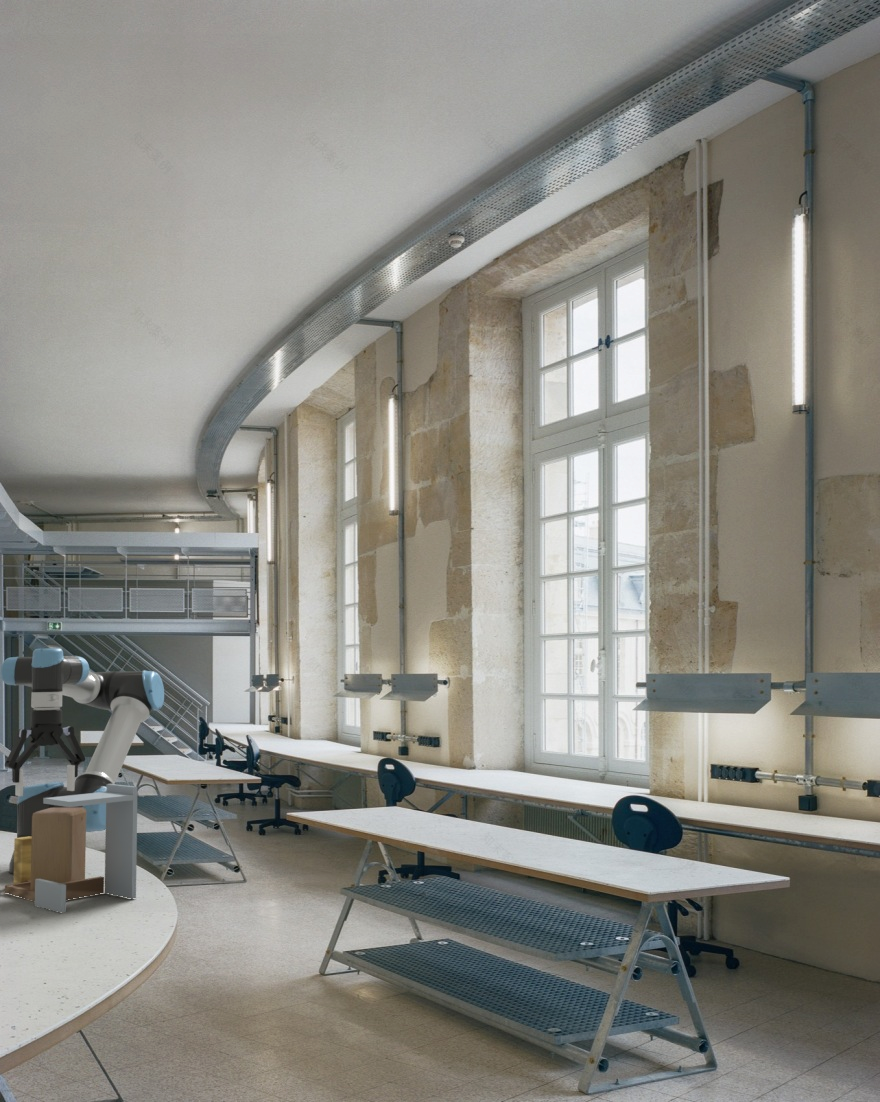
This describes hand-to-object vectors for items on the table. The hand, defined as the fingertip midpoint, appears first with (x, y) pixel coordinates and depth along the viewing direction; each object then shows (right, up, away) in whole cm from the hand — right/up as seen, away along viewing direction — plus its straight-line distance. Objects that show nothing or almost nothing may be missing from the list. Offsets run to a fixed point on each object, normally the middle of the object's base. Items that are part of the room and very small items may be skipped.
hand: (45, 793), depth 281 cm
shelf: (+18, -20, -24) cm, 36 cm away
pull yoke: (+4, -22, -11) cm, 25 cm away
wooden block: (+8, -21, -14) cm, 27 cm away
